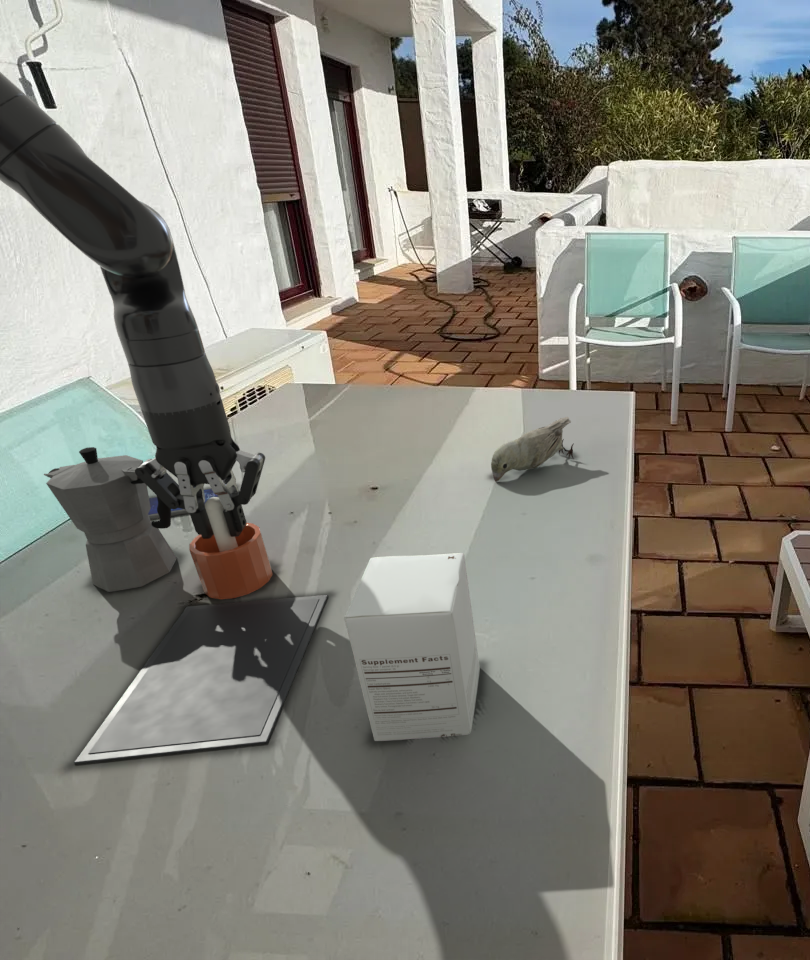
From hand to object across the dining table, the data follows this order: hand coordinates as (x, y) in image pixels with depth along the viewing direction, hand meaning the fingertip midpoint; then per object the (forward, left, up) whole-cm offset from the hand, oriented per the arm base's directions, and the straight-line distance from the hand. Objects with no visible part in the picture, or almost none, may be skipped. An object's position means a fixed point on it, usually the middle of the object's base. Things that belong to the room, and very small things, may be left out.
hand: (224, 533), depth 77 cm
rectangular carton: (+26, -24, -8) cm, 36 cm away
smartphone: (-17, +23, -8) cm, 30 cm away
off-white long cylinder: (0, 0, -7) cm, 7 cm away
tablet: (+4, -16, -8) cm, 18 cm away
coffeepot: (-13, +4, -8) cm, 16 cm away
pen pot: (0, 0, -8) cm, 8 cm away
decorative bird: (+38, +29, -8) cm, 48 cm away
